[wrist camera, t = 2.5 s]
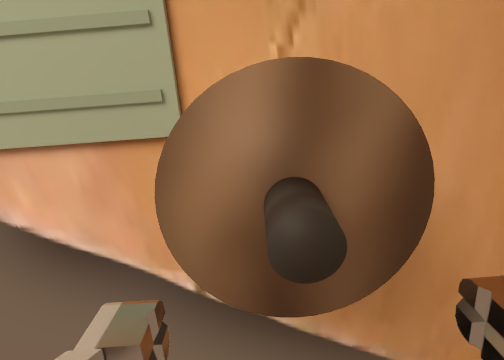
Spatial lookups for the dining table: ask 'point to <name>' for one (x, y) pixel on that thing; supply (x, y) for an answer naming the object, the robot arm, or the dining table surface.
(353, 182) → the lid
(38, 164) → the dining table surface
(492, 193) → the dining table surface
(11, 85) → the trivet
